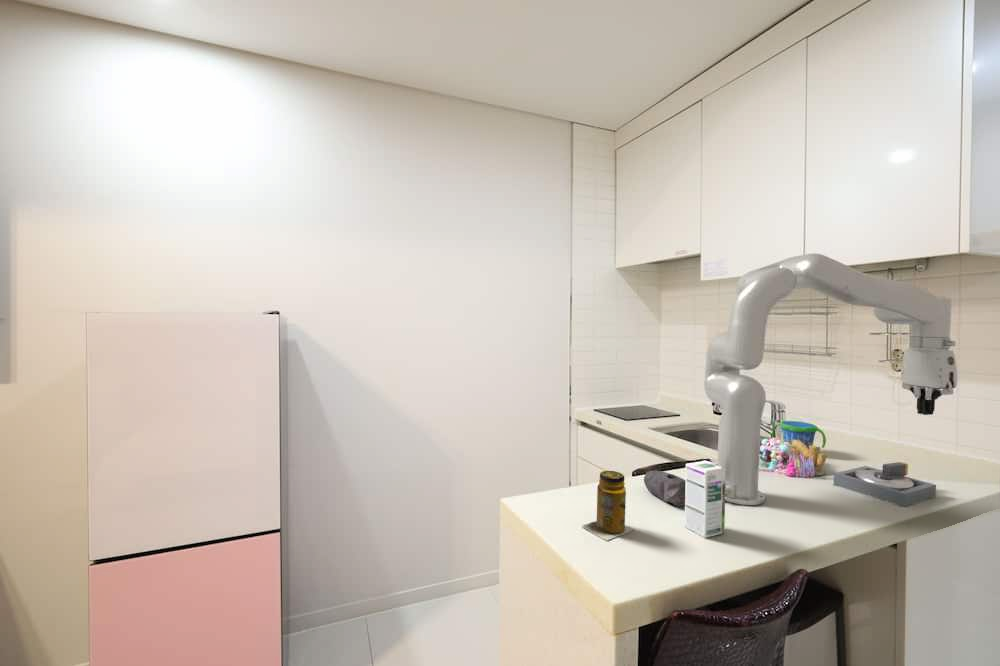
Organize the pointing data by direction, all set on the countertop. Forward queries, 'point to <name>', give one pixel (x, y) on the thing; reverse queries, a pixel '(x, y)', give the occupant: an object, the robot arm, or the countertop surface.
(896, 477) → the dial
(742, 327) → the robot arm
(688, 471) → the syrup box
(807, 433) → the snack cup
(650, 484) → the perforated stone tool
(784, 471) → the pastel sphere sculpture
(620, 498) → the condiment
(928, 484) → the housing
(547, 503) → the countertop surface
